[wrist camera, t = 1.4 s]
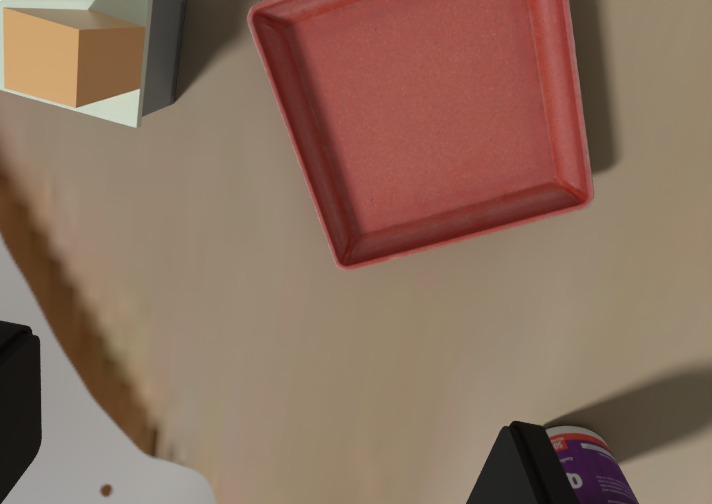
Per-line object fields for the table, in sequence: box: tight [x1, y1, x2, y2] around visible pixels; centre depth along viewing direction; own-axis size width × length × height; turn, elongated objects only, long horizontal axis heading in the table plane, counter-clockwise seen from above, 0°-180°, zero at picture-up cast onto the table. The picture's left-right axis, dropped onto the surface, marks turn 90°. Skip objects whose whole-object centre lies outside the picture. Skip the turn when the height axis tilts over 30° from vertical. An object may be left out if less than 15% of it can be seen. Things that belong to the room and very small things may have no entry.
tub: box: [142, 0, 187, 117], centre depth 30 cm, size 7×11×6 cm, turn 74°
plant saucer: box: [247, 0, 594, 271], centre depth 33 cm, size 18×18×3 cm
